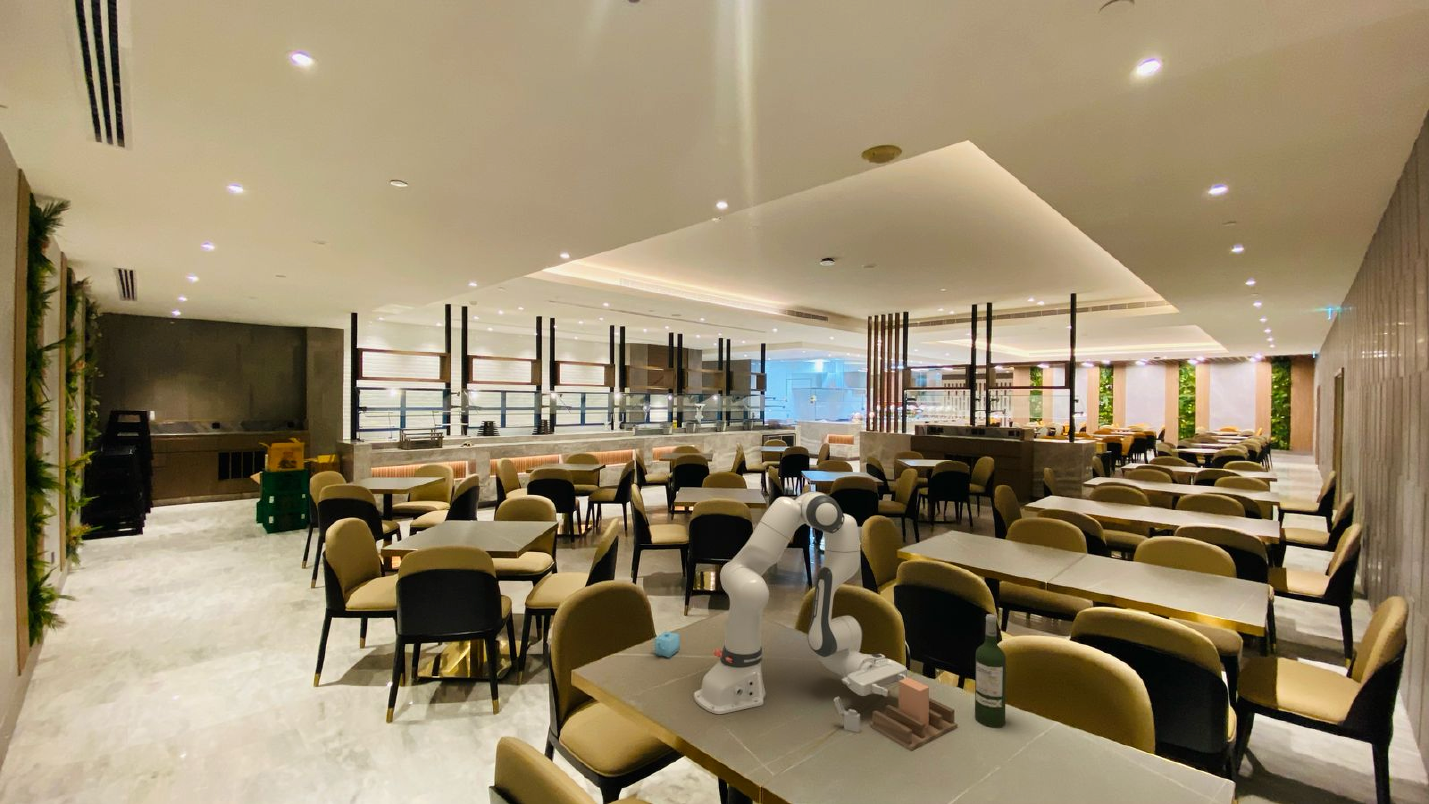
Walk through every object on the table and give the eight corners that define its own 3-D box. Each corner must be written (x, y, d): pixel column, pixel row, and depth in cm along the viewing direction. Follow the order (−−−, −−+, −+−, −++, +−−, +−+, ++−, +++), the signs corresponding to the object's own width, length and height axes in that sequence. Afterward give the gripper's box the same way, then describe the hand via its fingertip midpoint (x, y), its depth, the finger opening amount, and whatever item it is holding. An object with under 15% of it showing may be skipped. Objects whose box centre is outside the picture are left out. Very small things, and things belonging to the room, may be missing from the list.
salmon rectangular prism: (919, 731, 166) (919, 691, 166) (898, 719, 172) (898, 681, 171) (928, 726, 168) (929, 687, 168) (907, 715, 174) (908, 677, 174)
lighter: (860, 729, 168) (860, 700, 168) (858, 732, 167) (859, 703, 167) (834, 723, 171) (834, 695, 171) (833, 726, 170) (833, 698, 170)
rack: (911, 750, 158) (911, 733, 158) (869, 726, 170) (869, 710, 170) (957, 727, 170) (957, 711, 170) (915, 706, 181) (915, 691, 181)
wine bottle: (975, 724, 171) (976, 618, 171) (974, 711, 179) (975, 609, 178) (1006, 730, 168) (1008, 622, 168) (1003, 716, 176) (1005, 612, 176)
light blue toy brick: (664, 663, 209) (664, 641, 209) (649, 660, 212) (649, 638, 212) (681, 650, 220) (681, 629, 219) (667, 647, 222) (667, 626, 222)
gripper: (838, 668, 179) (874, 687, 167) (884, 652, 190) (922, 669, 179) (837, 689, 179) (874, 710, 168) (884, 672, 190) (921, 690, 179)
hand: (899, 688), depth 173 cm, fingers open, 8 cm apart
